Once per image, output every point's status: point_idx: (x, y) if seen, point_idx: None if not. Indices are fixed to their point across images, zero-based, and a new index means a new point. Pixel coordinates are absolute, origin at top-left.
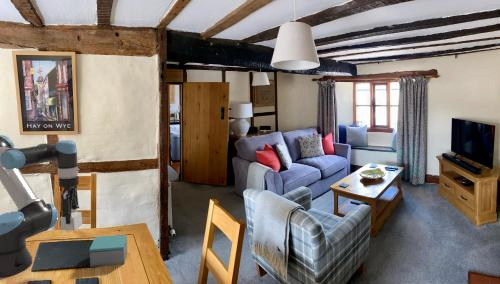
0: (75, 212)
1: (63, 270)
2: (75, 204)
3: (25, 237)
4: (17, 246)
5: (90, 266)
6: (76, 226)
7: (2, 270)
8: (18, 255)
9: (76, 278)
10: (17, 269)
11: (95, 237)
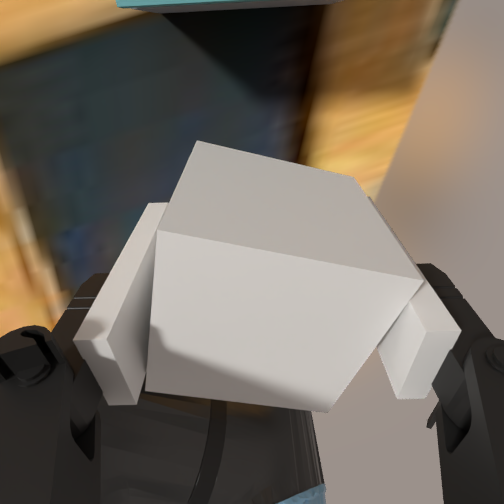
0: (166, 316)
1: (320, 153)
2: (56, 476)
3: None
4: None
5: (331, 3)
6: (324, 181)
7: None
8: None
9: (424, 59)
10: None
11: (132, 1)
